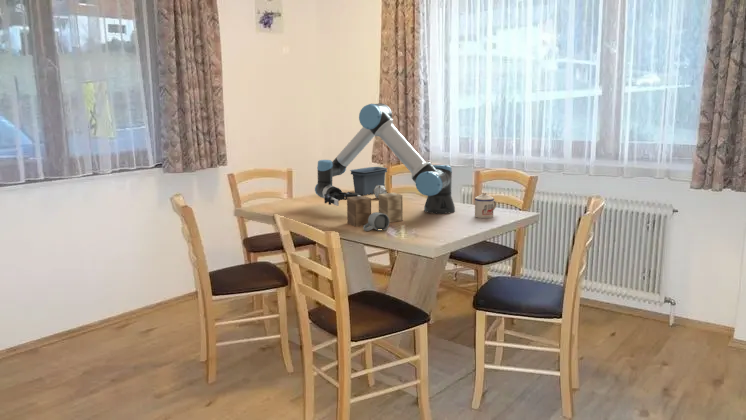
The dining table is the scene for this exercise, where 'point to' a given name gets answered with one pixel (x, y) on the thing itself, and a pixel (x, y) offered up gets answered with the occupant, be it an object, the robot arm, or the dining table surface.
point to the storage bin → (368, 179)
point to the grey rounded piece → (379, 190)
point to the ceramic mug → (377, 222)
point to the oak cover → (391, 206)
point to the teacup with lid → (484, 206)
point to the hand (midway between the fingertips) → (351, 201)
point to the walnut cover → (358, 210)
